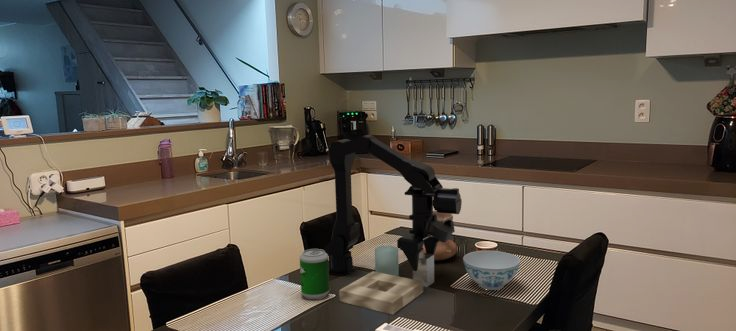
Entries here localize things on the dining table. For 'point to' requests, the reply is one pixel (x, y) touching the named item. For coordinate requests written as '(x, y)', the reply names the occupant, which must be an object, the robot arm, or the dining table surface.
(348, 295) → the socket plate
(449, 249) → the ceramic jug
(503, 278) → the chinaware
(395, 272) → the round peg
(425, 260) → the square peg
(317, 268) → the soda can
